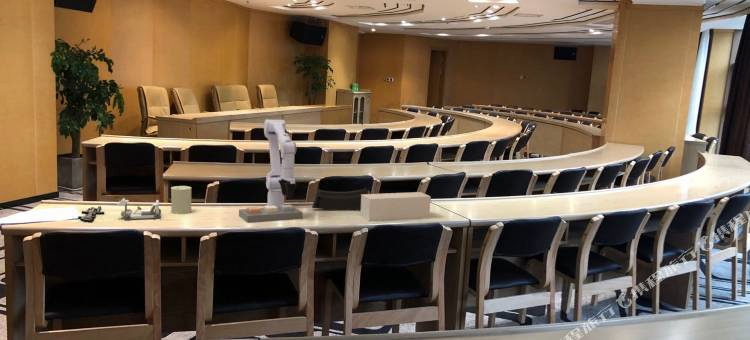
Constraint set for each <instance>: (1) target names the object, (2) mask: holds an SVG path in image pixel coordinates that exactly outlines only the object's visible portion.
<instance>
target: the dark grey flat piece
mask: <svg viewBox="0 0 750 340" xmlns="http://www.w3.org/2000/svg"><path fill="white" fill-rule="evenodd" d="M101 210H102V206H101V205H100V206H99V205H98V206H97V207H94V206H91V207H89V208H87V209H86V210H82V211H81V215H78V216H77V219H78V220H79V219H80V220H81V221H80V220H79V221H80V222H82V221H83V222H82V223H87V222H88V223H89V224H91V223H93V222H94V221H95V219H96V217H97V215H98V216H102V215H105V211H101ZM83 215H84V216H83Z"/></svg>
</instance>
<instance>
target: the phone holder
mask: <svg viewBox="0 0 750 340" xmlns="http://www.w3.org/2000/svg"><path fill="white" fill-rule="evenodd" d="M117 200H118V202H117V204H116V205H117V206H118V205H119V206H122V207H123V206H124V210H121V213H120V216H121V217H123V221H125V222H126V221H127V222H128V221H131V220H134V219H135V220H136V219H154V220H155V221H156V219H160V220H161V219H162V216H161V213H162V210H161V209H160V207H159V206H160V204H159V202H160V201H159V199H156V201H155V202H153V203H152V205H151V207H150V209H149V208H148V209H142V208H141V207H140V205H138V206H137V209H136V210H134V211H132V209H130V208H128V203H130V199H126V198H125V197H123V198H122V199H120V198H117Z"/></svg>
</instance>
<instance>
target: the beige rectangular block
mask: <svg viewBox="0 0 750 340" xmlns="http://www.w3.org/2000/svg"><path fill="white" fill-rule="evenodd" d="M361 196H362V197H361V198H362V199H361V209H360V217H362V218H363V219H364V220H366V221H369V222H373V221H375V222H377V221H391V220H410V219H423V218H427V219H428V218H430V214H431V198H432V197H431V196H430V195H428V194H426V193H423V192H421V191H417V192H416V191H414V192H395V193H394V192H391V193H370V194H362V195H361Z"/></svg>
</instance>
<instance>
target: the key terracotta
mask: <svg viewBox="0 0 750 340" xmlns="http://www.w3.org/2000/svg"><path fill="white" fill-rule="evenodd" d="M260 208H261V207H259V206H247V207H246V209H247V212H248V213H249V214H254V213H261V209H260Z"/></svg>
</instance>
